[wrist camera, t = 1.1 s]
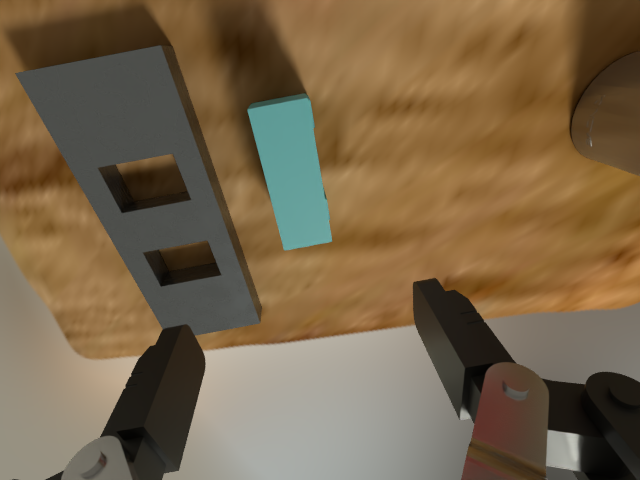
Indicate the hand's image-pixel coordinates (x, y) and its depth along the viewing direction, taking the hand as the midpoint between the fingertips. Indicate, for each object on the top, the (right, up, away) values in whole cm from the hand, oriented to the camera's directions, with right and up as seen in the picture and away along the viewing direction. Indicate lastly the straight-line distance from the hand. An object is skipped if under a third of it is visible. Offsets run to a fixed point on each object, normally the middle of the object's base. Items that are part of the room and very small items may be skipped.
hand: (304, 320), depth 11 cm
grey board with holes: (-13, +5, +19) cm, 24 cm away
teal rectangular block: (-2, +10, +17) cm, 20 cm away
